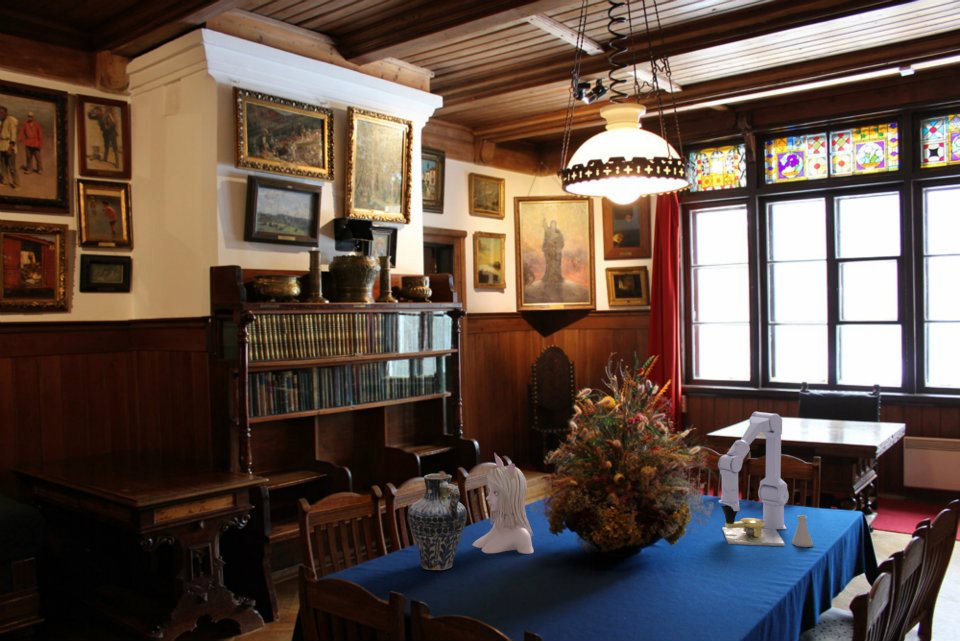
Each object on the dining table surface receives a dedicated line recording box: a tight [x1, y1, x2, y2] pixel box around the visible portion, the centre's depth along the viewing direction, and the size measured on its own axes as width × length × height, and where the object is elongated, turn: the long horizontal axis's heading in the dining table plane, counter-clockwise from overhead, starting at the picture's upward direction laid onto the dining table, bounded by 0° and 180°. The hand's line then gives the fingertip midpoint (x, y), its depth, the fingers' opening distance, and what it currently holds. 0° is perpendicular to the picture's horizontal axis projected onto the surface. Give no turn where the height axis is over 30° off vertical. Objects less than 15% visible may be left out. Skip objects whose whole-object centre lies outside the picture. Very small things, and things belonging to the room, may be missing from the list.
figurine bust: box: [472, 452, 535, 555], centre depth 281 cm, size 26×20×32 cm
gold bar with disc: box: [724, 517, 765, 537], centre depth 283 cm, size 15×8×5 cm, turn 106°
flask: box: [791, 514, 814, 548], centre depth 275 cm, size 7×7×10 cm
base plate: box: [722, 526, 786, 547], centre depth 284 cm, size 18×19×4 cm
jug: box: [407, 472, 468, 571], centre depth 258 cm, size 21×19×30 cm
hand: (730, 526), depth 284 cm, fingers closed, pressing on gold bar with disc
